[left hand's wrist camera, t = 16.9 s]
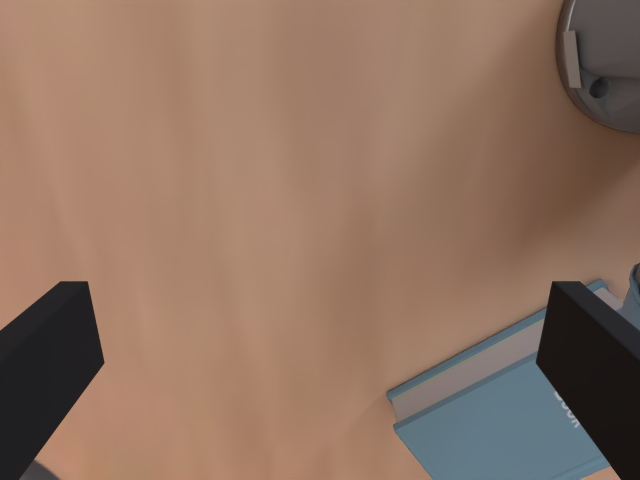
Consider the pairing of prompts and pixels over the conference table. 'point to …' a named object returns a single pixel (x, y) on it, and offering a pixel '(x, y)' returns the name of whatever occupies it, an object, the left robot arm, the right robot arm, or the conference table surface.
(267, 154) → the conference table surface
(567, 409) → the book
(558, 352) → the left robot arm
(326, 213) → the conference table surface
